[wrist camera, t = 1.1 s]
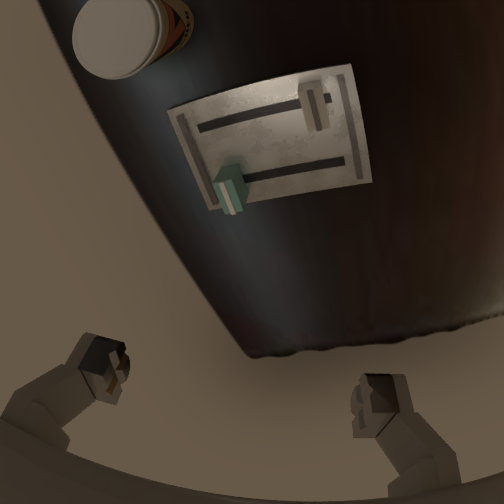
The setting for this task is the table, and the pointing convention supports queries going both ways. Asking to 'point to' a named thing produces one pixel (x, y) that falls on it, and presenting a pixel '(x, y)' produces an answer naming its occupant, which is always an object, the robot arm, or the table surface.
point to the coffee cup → (129, 34)
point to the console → (276, 136)
